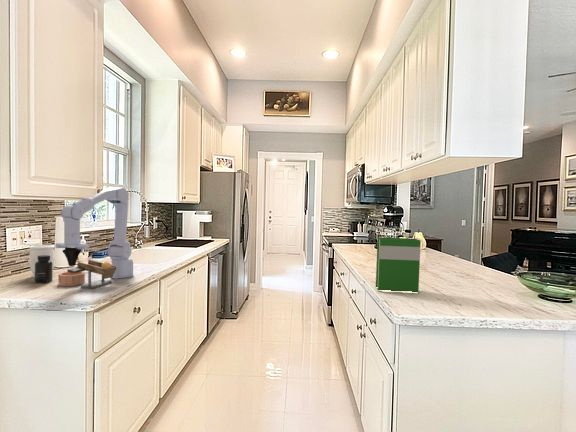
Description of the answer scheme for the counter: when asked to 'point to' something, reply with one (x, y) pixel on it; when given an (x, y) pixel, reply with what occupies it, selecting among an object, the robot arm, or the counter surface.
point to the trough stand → (94, 284)
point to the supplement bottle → (43, 269)
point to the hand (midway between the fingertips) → (72, 265)
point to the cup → (71, 278)
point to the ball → (106, 265)
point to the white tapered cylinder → (40, 250)
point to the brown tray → (94, 268)
